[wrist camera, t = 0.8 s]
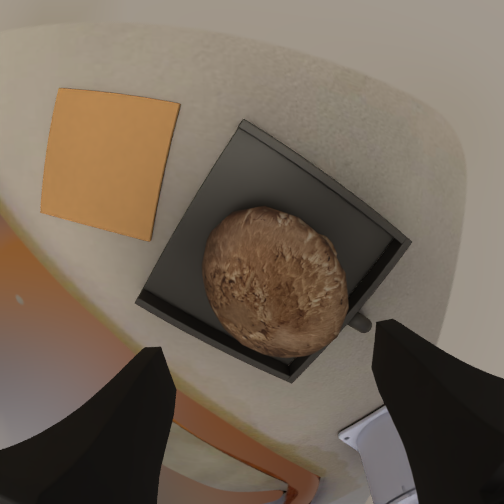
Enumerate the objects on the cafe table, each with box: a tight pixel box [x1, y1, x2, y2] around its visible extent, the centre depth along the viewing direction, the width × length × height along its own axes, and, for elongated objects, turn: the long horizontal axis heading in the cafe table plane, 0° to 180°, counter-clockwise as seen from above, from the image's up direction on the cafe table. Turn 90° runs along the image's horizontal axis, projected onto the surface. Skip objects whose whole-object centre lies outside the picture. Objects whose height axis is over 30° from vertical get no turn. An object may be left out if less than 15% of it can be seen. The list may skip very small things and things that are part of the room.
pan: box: [135, 119, 412, 383], centre depth 18 cm, size 14×12×2 cm
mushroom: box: [202, 206, 349, 358], centre depth 16 cm, size 8×8×6 cm
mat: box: [40, 88, 181, 242], centre depth 16 cm, size 8×8×1 cm
